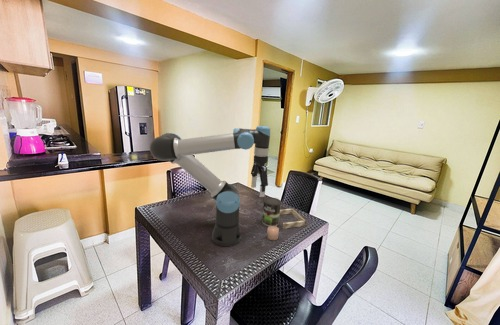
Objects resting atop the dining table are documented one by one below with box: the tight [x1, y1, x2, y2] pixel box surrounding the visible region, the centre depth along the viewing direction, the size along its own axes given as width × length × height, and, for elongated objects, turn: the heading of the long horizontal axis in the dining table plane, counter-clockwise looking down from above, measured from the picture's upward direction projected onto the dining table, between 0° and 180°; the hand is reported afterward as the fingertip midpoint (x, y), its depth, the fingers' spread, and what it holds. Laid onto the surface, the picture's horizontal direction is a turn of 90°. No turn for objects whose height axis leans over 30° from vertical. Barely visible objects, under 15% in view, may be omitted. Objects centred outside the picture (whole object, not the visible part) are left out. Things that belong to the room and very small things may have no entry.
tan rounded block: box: [266, 226, 280, 241], centre depth 111 cm, size 6×6×5 cm
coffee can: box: [261, 196, 282, 227], centre depth 124 cm, size 10×10×14 cm
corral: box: [280, 208, 307, 230], centre depth 130 cm, size 15×16×3 cm
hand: (257, 191), depth 118 cm, fingers open, 13 cm apart
